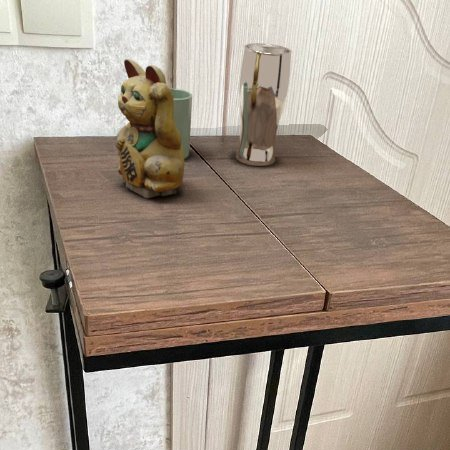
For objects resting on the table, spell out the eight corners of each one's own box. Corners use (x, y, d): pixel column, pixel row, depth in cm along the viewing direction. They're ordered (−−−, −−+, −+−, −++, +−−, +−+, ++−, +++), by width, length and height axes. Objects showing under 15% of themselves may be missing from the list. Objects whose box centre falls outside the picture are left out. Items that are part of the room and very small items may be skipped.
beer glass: (286, 160, 96) (302, 50, 87) (263, 171, 91) (277, 56, 82) (247, 148, 99) (259, 40, 89) (223, 158, 94) (233, 46, 85)
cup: (188, 148, 96) (191, 89, 91) (189, 161, 92) (192, 100, 87) (149, 145, 96) (150, 86, 91) (148, 158, 91) (149, 97, 86)
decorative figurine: (105, 182, 83) (101, 55, 73) (151, 170, 88) (153, 49, 78) (155, 206, 78) (157, 74, 69) (201, 192, 83) (209, 67, 74)
